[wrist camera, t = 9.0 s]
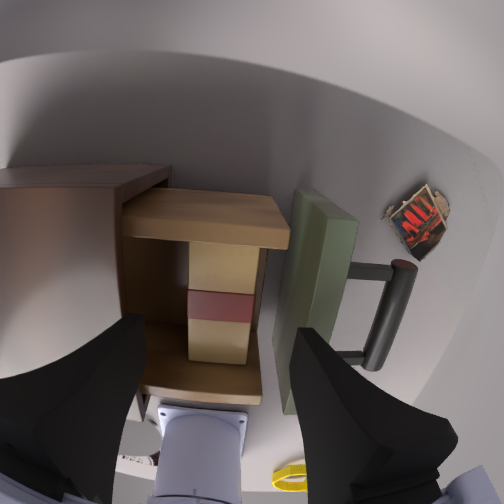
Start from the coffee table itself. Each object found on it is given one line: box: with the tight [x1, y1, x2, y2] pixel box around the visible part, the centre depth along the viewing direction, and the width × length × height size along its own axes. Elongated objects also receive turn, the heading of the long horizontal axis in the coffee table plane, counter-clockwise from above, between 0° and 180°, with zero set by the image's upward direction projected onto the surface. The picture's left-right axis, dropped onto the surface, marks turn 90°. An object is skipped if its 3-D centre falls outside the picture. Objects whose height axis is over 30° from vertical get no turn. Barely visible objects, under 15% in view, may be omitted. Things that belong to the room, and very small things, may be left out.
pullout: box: [122, 187, 418, 415], centre depth 15 cm, size 17×10×7 cm, turn 84°
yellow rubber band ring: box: [272, 464, 308, 493], centre depth 28 cm, size 6×3×6 cm
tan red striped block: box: [187, 242, 260, 365], centre depth 15 cm, size 7×3×4 cm, turn 174°
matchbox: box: [381, 184, 450, 261], centre depth 18 cm, size 5×5×1 cm
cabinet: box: [0, 163, 172, 422], centre depth 14 cm, size 13×11×8 cm
